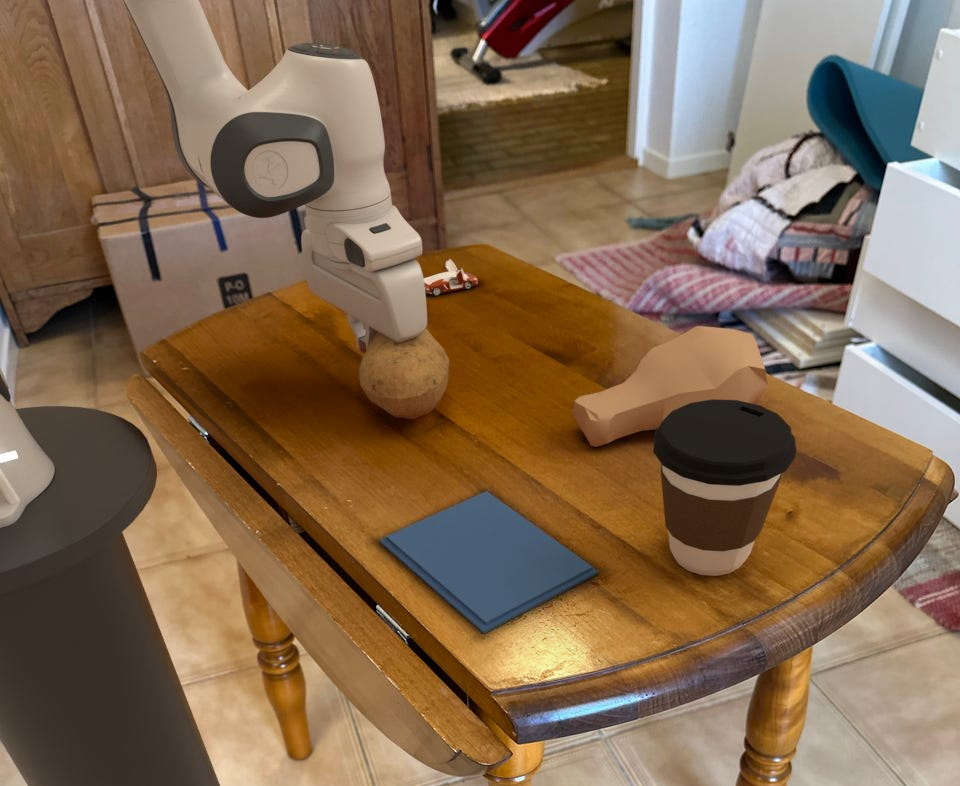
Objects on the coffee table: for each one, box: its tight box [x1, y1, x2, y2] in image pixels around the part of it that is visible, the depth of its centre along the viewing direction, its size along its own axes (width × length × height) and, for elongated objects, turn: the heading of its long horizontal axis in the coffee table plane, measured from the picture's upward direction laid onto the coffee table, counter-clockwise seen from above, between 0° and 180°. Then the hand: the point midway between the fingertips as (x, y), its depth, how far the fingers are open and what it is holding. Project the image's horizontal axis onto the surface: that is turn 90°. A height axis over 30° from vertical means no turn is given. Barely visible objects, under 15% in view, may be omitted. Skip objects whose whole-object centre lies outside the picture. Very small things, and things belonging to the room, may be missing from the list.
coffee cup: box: [652, 399, 797, 577], centre depth 75 cm, size 11×11×12 cm
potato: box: [358, 328, 450, 420], centre depth 99 cm, size 10×14×8 cm
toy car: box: [423, 258, 479, 297], centre depth 125 cm, size 5×8×3 cm, turn 109°
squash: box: [572, 325, 768, 448], centre depth 93 cm, size 11×20×9 cm, turn 109°
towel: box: [378, 490, 599, 635], centre depth 81 cm, size 12×16×1 cm
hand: (370, 352), depth 105 cm, fingers closed
